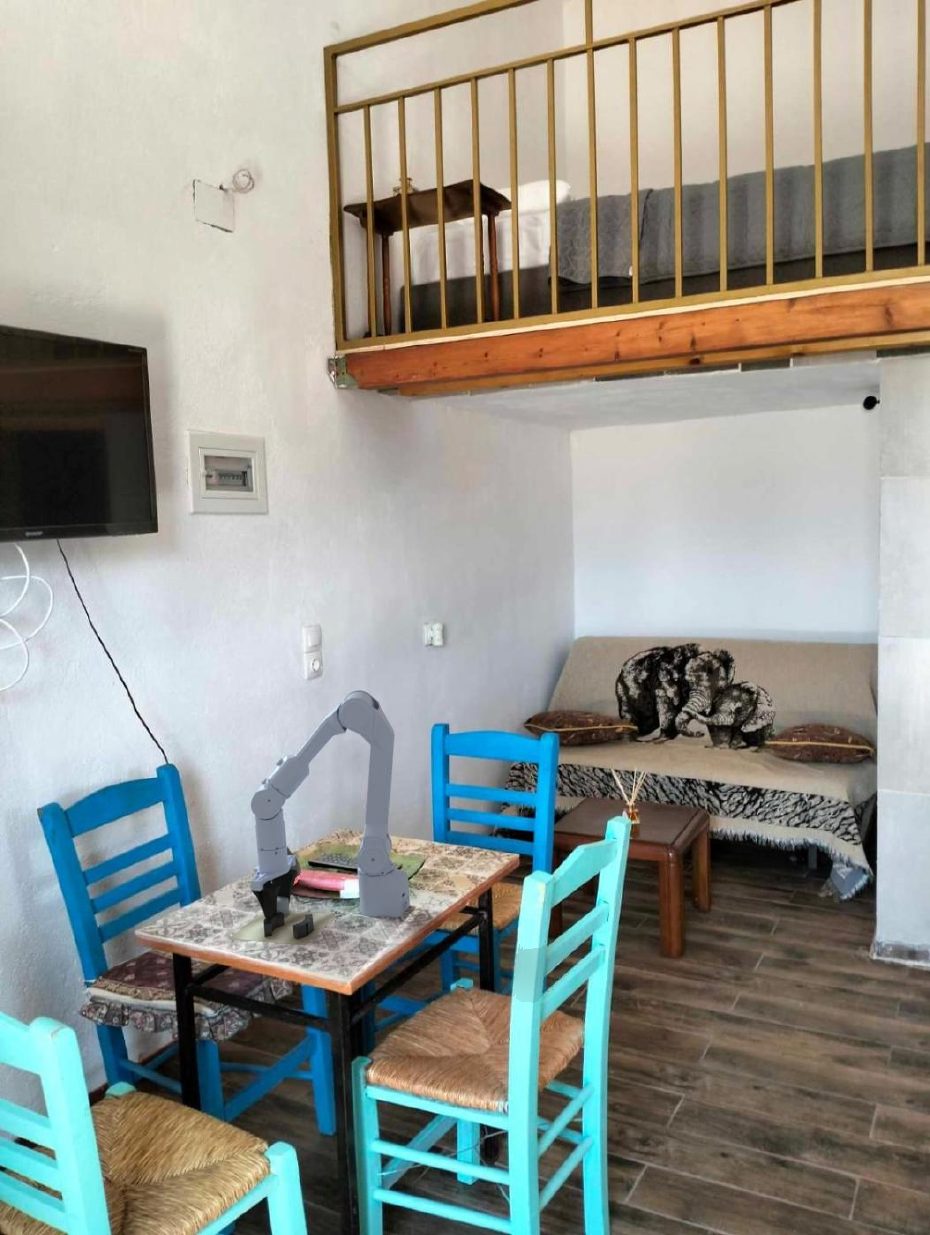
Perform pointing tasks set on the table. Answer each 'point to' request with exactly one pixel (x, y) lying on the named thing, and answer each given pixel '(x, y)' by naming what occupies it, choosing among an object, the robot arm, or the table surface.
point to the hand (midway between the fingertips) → (277, 912)
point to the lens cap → (283, 905)
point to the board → (283, 928)
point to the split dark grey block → (278, 921)
